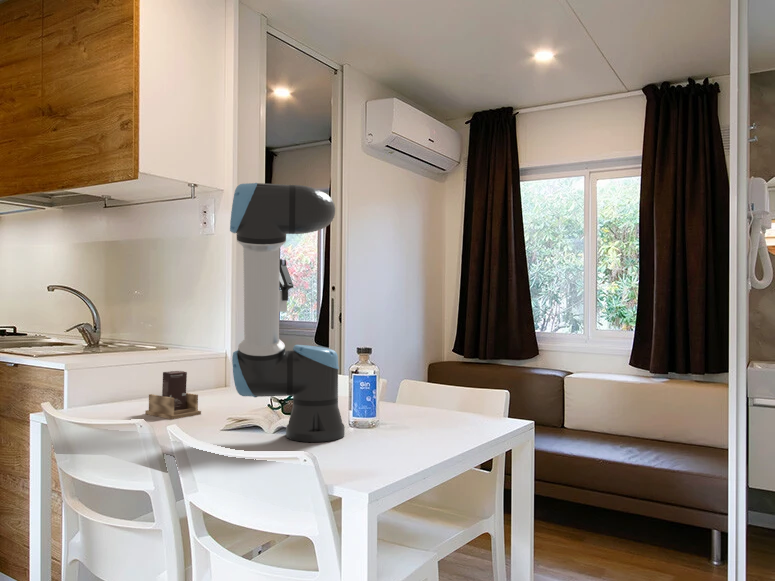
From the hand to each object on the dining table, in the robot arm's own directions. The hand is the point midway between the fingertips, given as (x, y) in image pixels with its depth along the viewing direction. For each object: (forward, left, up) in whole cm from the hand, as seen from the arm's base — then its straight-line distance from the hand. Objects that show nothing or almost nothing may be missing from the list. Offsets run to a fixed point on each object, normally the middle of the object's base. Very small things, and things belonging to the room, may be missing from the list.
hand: (267, 311), depth 189 cm
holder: (+20, +20, -32) cm, 42 cm away
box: (+20, +20, -31) cm, 42 cm away
